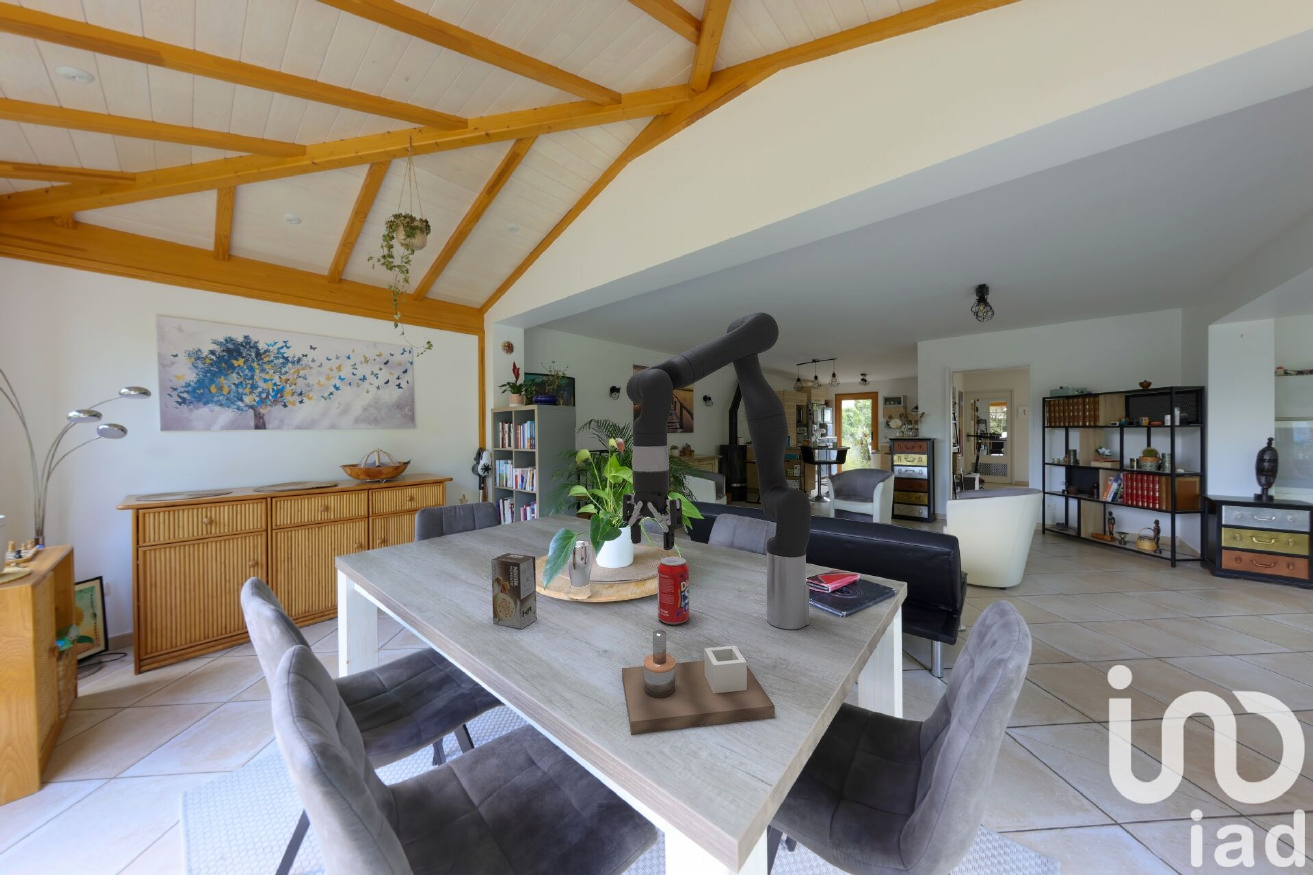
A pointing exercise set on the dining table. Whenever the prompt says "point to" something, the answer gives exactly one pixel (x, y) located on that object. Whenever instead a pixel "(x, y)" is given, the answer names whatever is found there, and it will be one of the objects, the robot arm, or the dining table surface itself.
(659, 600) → the soda can
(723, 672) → the collar
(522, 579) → the coffee box
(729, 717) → the pipe stand
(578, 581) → the beer glass
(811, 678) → the dining table surface
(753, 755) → the dining table surface
